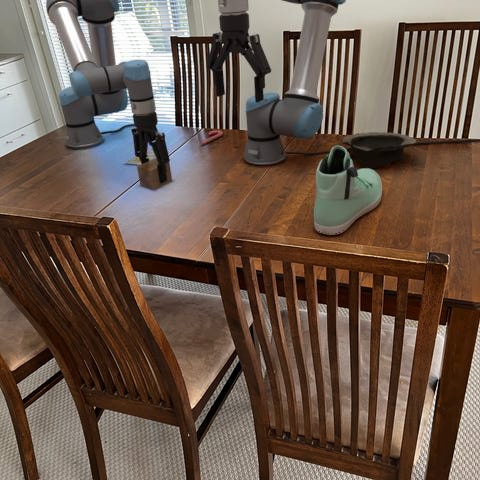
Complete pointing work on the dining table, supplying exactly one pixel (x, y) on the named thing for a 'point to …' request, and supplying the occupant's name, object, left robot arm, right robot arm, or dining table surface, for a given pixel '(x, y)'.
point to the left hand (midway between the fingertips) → (155, 179)
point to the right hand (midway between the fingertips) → (239, 98)
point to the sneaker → (343, 192)
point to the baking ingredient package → (138, 161)
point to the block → (152, 174)
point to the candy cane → (219, 133)
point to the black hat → (378, 147)
